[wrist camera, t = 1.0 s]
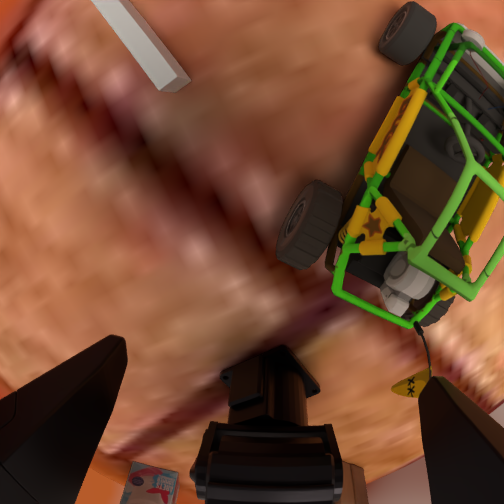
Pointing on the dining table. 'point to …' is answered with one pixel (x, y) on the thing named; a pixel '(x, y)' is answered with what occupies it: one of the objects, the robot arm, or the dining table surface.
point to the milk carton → (150, 485)
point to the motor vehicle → (415, 184)
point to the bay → (143, 44)
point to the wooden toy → (353, 485)
